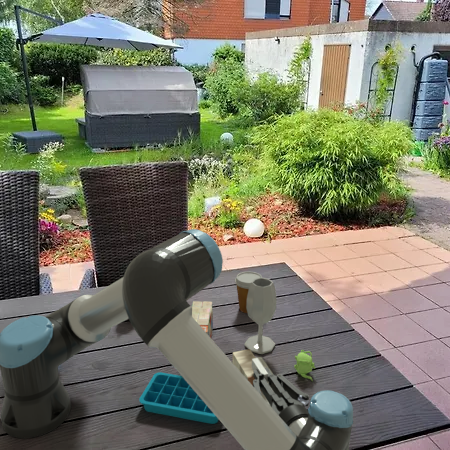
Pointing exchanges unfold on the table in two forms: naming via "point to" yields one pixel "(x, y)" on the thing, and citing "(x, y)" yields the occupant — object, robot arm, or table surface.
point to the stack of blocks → (203, 315)
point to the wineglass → (261, 313)
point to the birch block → (244, 363)
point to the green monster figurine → (304, 364)
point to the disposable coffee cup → (244, 287)
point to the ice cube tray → (175, 399)
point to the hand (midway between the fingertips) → (254, 362)
